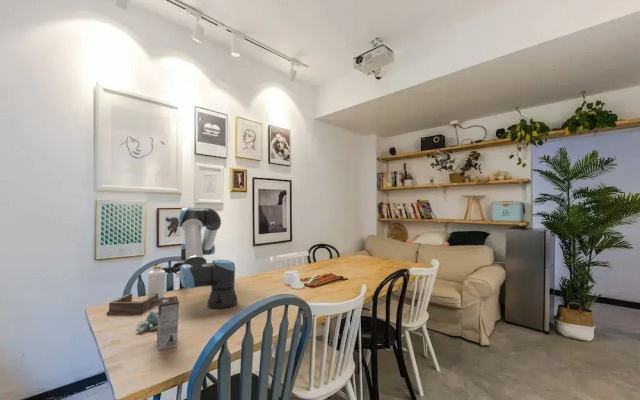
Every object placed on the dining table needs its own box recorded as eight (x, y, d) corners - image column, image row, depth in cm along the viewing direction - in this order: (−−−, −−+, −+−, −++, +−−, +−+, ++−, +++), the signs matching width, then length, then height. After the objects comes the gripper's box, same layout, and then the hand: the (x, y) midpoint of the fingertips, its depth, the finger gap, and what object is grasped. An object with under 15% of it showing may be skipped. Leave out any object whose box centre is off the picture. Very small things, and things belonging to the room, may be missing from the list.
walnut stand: (127, 303, 150) (128, 293, 150) (158, 303, 151) (159, 293, 151) (106, 314, 134) (107, 303, 134) (141, 314, 135) (142, 303, 135)
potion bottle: (156, 301, 153) (158, 268, 153) (143, 300, 154) (144, 267, 155) (167, 297, 161) (169, 265, 162) (155, 296, 163) (156, 264, 163)
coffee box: (156, 340, 108) (158, 298, 109) (175, 336, 112) (176, 295, 112) (157, 350, 100) (159, 304, 101) (177, 346, 104) (179, 302, 104)
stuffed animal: (126, 319, 114) (149, 304, 126) (128, 336, 115) (151, 319, 127) (148, 322, 112) (170, 307, 123) (150, 339, 113) (172, 322, 125)
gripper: (199, 273, 190) (186, 281, 169) (161, 272, 188) (143, 281, 167) (199, 262, 190) (187, 268, 169) (161, 261, 189) (143, 268, 167)
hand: (165, 274), depth 168 cm, fingers open, 13 cm apart
